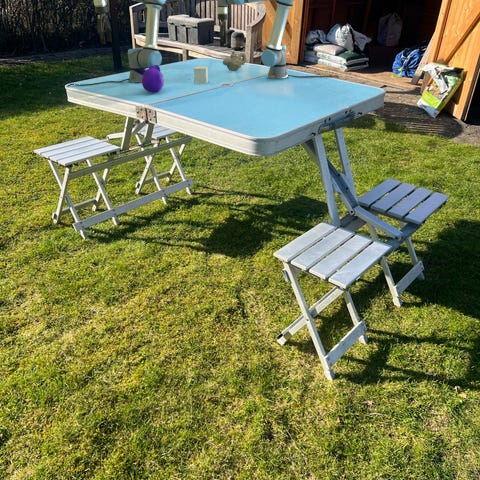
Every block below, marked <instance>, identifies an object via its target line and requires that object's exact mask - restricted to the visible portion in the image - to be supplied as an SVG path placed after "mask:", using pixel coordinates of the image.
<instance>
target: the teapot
mask: <svg viewBox="0 0 480 480" xmlns="http://www.w3.org/2000/svg"><path fill="white" fill-rule="evenodd" d="M241 58H242V60H241ZM246 62H247V56H246V54H245V53H244V52H241V53H239V54H238V55H237V53H236V52H235V50H233V51H231V54H230V57H225V58H224V59H222V65H224V66H226V68H227V69H228V71H230V72H237V71H238V70H239V69H241V68H242V66H243V65H245V64H246Z"/></svg>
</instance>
